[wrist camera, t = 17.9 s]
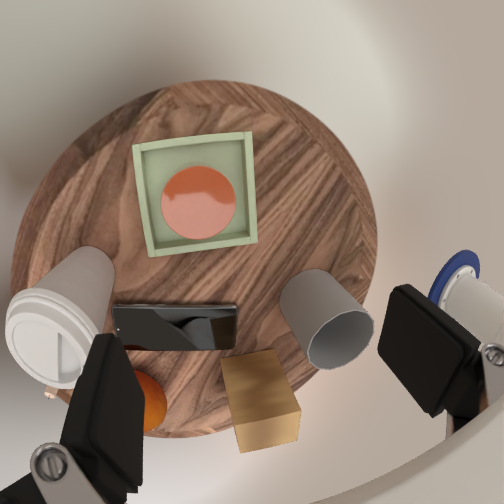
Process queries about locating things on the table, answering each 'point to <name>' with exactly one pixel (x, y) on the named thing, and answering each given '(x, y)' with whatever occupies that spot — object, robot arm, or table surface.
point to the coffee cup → (61, 317)
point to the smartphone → (175, 326)
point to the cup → (325, 319)
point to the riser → (260, 400)
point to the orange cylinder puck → (197, 201)
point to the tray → (184, 151)
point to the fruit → (152, 401)
